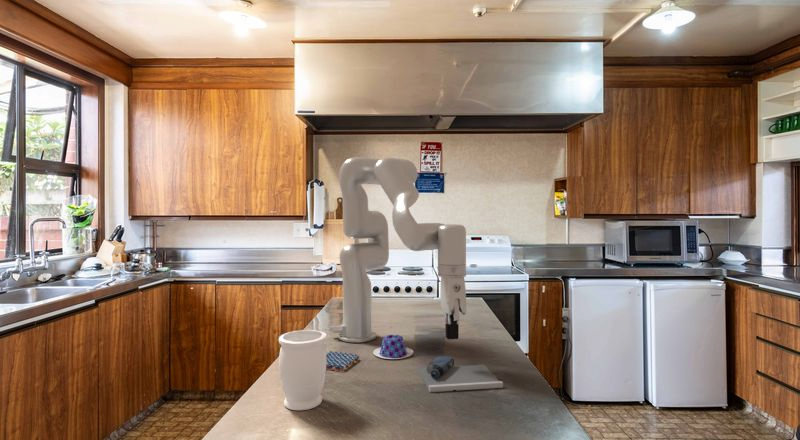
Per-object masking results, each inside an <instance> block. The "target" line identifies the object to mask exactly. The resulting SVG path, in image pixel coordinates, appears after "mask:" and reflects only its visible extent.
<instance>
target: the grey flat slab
mask: <svg viewBox="0 0 800 440" xmlns="http://www.w3.org/2000/svg"><path fill="white" fill-rule="evenodd" d="M418 371H419V373H420V376H421V378H422V379H423V382H424V383H425V385H426V388H427V389H428V391H429V393H438V392H452V391H453V390H456V391H468V390H469V391H470V390H471V391H472V390H483V389H484V390H486V389H487V390H488V389H501V388H502V389H503V388H504V382H503V381H502V380H499V379H498V378H497V377H496V375H494V374H493V373H492V372H491V370H489V368H488V367H487V366H486V365H485V364H473V365H471V364H470V365H456V366H455V365H453V366H452V367H451V368H450V369H449V370H447V371H446V372H445V373H444V374H442V375H441V376H440V377H439V378H438V379H433V378H432V377H431V374H430V373H428V372H427V367H419V368H418ZM453 392H454V391H453Z"/></svg>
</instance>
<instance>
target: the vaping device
mask: <svg viewBox="0 0 800 440" xmlns="http://www.w3.org/2000/svg"><path fill="white" fill-rule="evenodd" d="M452 366H455V358H454V357H453V356H445V355H444V356H442V355H440V356H437V357H436V358H435V359H432V361H430V362H428V365H427V367H426V368H427V372H428V373H430V374H431V377H432V378H433V379H438V378H439V377H440V376H441V375H442V374H444V373H445V372H446V371H447V370H449V369H450V368H451V367H452Z"/></svg>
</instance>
